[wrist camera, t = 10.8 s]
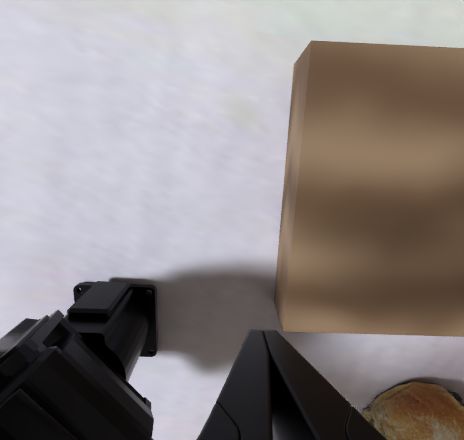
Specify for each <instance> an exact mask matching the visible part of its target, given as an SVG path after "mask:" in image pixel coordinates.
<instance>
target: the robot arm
mask: <svg viewBox="0 0 464 440" xmlns="http://www.w3.org/2000/svg"><path fill="white" fill-rule="evenodd" d="M79 288H82V289H83V291H81V290H80V289H79ZM147 290H151V291H152V293H148V292H147ZM73 291H74V300H75V303H74V304H73V305H72V306H71V307H70V308H69V309H68V310H67V315H66V316H65V317H64V315H63V314H62V313H61V312H60V311H59V310H57V311H56V312H54V313H53V314H52V315H50V316H48V315H46V316H45V317H43V318H42V319H39V320H35V319H27V318H26V319H25V320H24V321H22V322H21V323H20V324H18V325H17V326H16V327H15V328H13V329H12V330H11V331H10V332H8V333H7V334H6V335H5V336H3V337H2V338H1V339H0V440H154V439H153V438H151V437H152V431H153V422H154V419H153V415H152V412H151V402H150V401H149V400H148V399H147V398H146V397H144V398H143V397H142V396H141V395H140V394H139V393H138V392H137V391H136V390H135V389H134V388H133V387H132V386H131V385H130V384H129V383H128V380H129V378H130V376H131V374H132V371H133V369H134V367H135V365H136V362H137V360H138V358H139V356H141V357H153V356H155V355H156V354H157V351H158V330H157V292H156V288H155V287H154V286H153V285H137V284H129V283H128V282H102V281H98V282H96V283H79V284H77V285H76V286H75V287H74V290H73ZM63 317H64V318H63ZM150 349H152V350H154V351H151V350H150ZM197 440H388V439H387V438H385V437H384V436H383V435H382V434H381V433H380V432H379V431H378V430H377V429H376V428H375V427H374V426H373V425H372V424H370V423H369V422H368V421H367V420H366V419H365V418H364V417H363V416H362V415H361V414H360V413H359V412H358V411H357V410H356V409H355V408H354V407H351V404H350V403H349V402H348V401H347V400H346V399H345V398H344V397H343V396H342V395H341V394H340V393H339V392H338V391H337V390H336V389H335V388H334V387H333V386H332V385H331V384H330V383H329V382H328V381H327V380H326V379H325V378H324V377H323V376H322V375H321V374H320V373H319V372H318V371H317V370H316V369H315V368H314V367H313V366H312V365H311V364H310V363H309V362H308V361H307V360H305V359H304V358H303V357H302V356H301V355H300V354H299V353H298V352H297V351H296V350H295V349H294V348H293V347H292V346H291V345H290V344H289V343H288V342H287V341H286V340H285V339H284V338H283V337H282V336H281V335H280V334H279V333H278V332H277V331H276V330H264V331H262V330H257V329H251V330H250V331H249V332H248V335H247V337H246V339H245V341H244V343H243V345H242V347H241V350H240V352H239V354H238V356H237V358H236V360H235V362H234V365H233V367H232V369H231V371H230V373H229V375H228V377H227V380H226V382H225V384H224V386H223V388H222V390H221V393H220V395H219V397H218V399H217V401H216V404H215V405H214V407H213V409H212V411H211V414H210V416H209V418H208V420H207V422H206V423H205V425H204V427H203V429H202V431H201V433H200V435H199V436H198V438H197Z"/></svg>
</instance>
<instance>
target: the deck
mask: <svg viewBox="0 0 464 440" xmlns="http://www.w3.org/2000/svg"><path fill="white" fill-rule="evenodd" d="M274 303H275V306H276V309H277V313H278V316H279V319H280V322H281V326H282V329H283V331H285V332H320V333H354V334H389V335H424V336H459V337H464V48H447V47H428V46H408V45H388V44H368V43H348V42H329V41H311V42H310V43H309V44H308V46H307V47H306V49H305V50H304V51H303V53H302V54H301V56H300V57H299V58H298V60H297V61H296V63H295V64H294V71H293V83H292V95H291V107H290V118H289V130H288V142H287V154H286V166H285V177H284V189H283V201H282V213H281V225H280V236H279V248H278V260H277V272H276V284H275V296H274Z"/></svg>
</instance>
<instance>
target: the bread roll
mask: <svg viewBox="0 0 464 440" xmlns="http://www.w3.org/2000/svg"><path fill="white" fill-rule="evenodd" d="M361 415H362V416H363V417H364V418H365V419H366V420H367V421H368V422H369V423H370V424H372V425H373V426H374V427H375V428H376V429H377V430H378V431H379V432H380V433H381V434H382V435H383V436H384V437H385V438H387V439H388V440H464V404H463V403H462V399H461V397H460V395H459V394H458V393H455V392H450V391H449V390H446V389H445V388H444V387H442V386H441V385H438V384H427V383H422V382H419V381H411V382H410V383H407V384H403V385H398V386H395V387H394V388H391V389H389V390H387V391H385V392H384V393H382V394H380V395H379V396H378V397H377V398H376V399H375V400H374V401H373V402H372V404H371V406H370V407H369V408H367V409H363V411H362V413H361Z"/></svg>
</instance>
